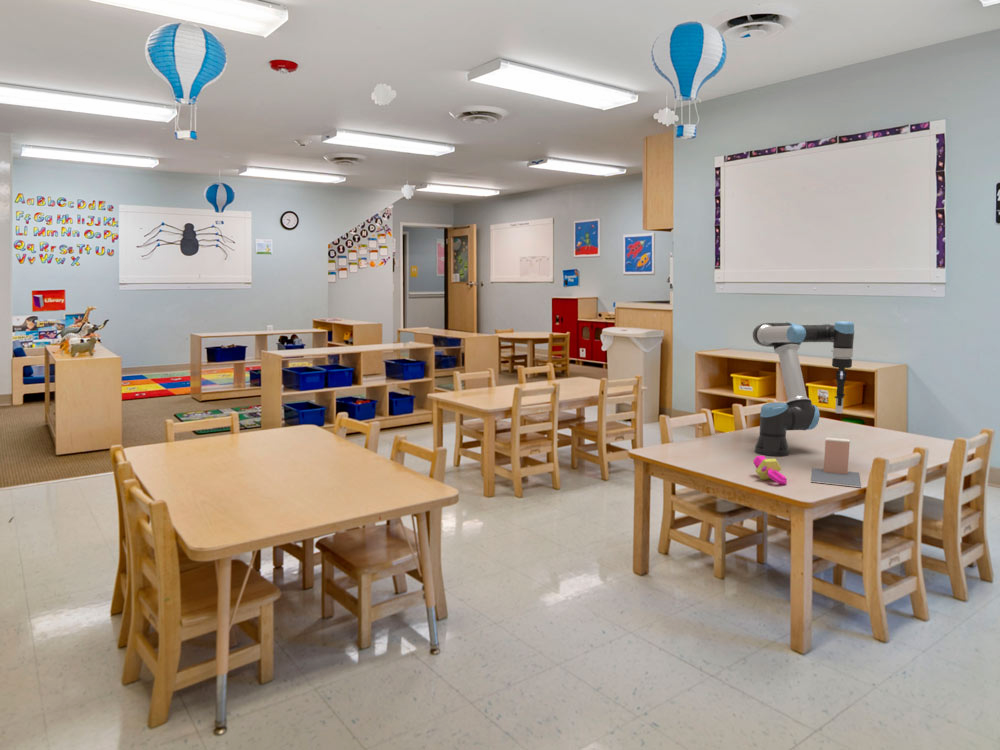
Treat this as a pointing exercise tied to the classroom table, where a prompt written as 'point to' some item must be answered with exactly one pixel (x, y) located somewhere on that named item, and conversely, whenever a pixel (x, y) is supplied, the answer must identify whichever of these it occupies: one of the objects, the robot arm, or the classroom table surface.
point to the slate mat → (835, 478)
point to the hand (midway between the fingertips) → (838, 411)
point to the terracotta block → (836, 455)
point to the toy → (769, 469)
